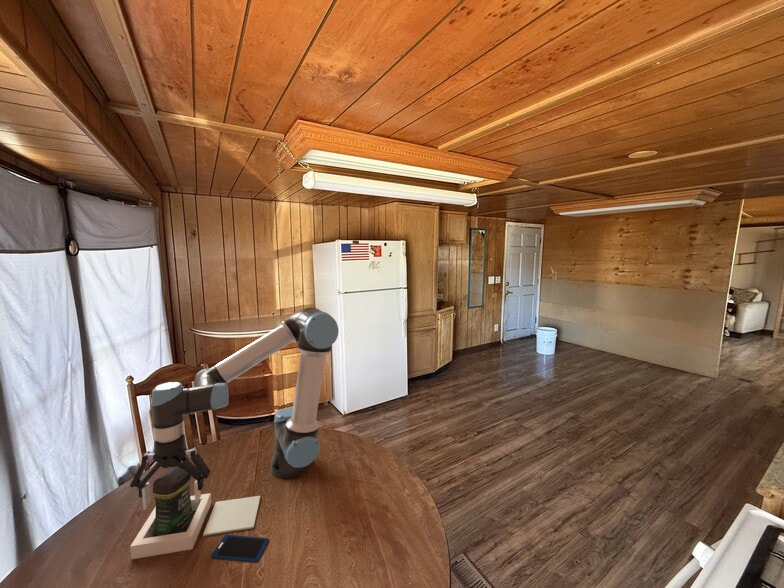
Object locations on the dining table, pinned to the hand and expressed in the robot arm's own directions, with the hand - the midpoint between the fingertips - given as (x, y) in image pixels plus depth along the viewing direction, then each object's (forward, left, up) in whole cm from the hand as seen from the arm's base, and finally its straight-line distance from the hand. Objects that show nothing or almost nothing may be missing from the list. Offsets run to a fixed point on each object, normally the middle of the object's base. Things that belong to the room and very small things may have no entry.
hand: (172, 502), depth 97 cm
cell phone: (-21, +11, -9) cm, 25 cm away
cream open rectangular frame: (0, 0, -9) cm, 9 cm away
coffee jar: (0, 0, -9) cm, 9 cm away
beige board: (-16, -2, -9) cm, 19 cm away
